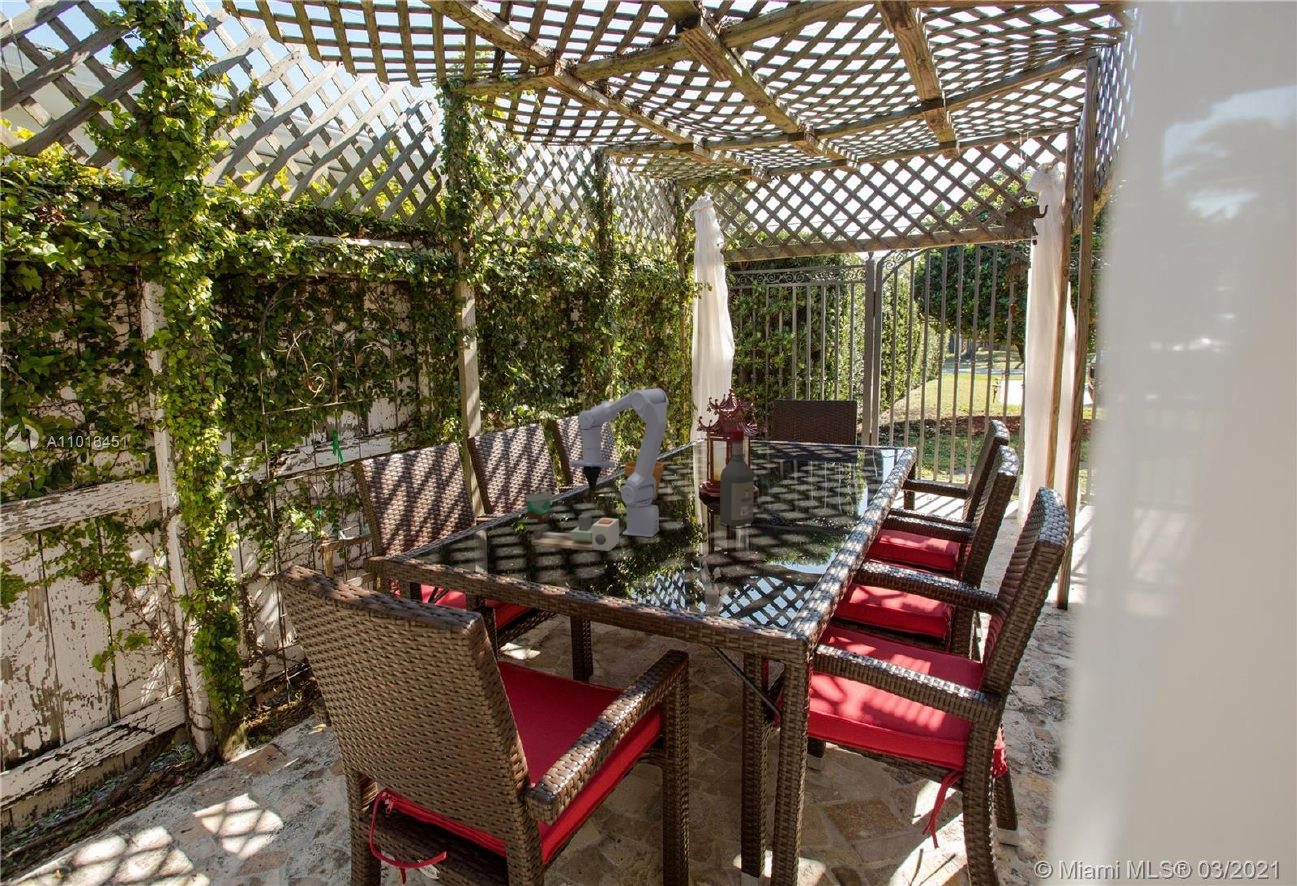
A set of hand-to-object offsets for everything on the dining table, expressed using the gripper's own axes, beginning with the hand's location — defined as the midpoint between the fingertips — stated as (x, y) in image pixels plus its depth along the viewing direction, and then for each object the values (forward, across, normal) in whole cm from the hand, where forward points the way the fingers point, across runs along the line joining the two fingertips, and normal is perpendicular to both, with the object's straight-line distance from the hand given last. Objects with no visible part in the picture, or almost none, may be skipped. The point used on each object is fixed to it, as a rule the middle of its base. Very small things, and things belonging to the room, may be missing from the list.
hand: (592, 489), depth 214 cm
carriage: (+9, +4, -24) cm, 26 cm away
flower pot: (+11, +10, +32) cm, 35 cm away
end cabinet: (+10, +10, -24) cm, 28 cm away
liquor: (+11, +46, +4) cm, 47 cm away
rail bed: (+10, -1, -23) cm, 25 cm away
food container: (+11, -16, -2) cm, 20 cm away
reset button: (+5, +10, -24) cm, 27 cm away
